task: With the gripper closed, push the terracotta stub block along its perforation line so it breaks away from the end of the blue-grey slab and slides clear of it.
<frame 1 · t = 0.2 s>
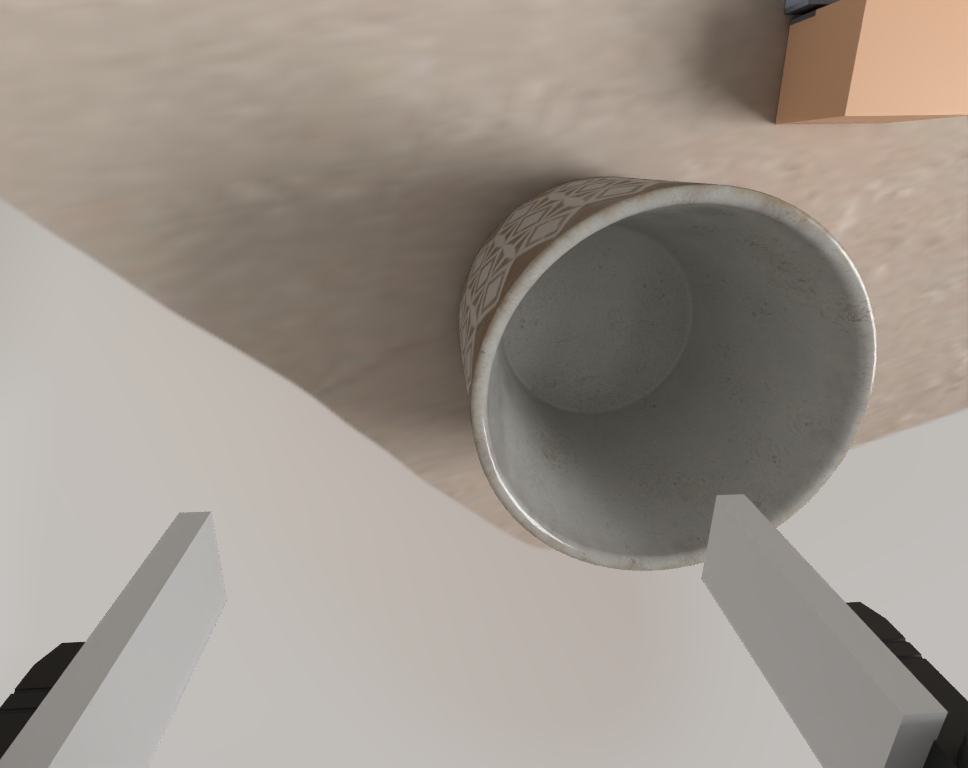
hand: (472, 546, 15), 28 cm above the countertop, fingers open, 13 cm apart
planter: (588, 315, 43), on the countertop
stub: (880, 64, 35), point 3 cm above the countertop, slide at 0.0 cm
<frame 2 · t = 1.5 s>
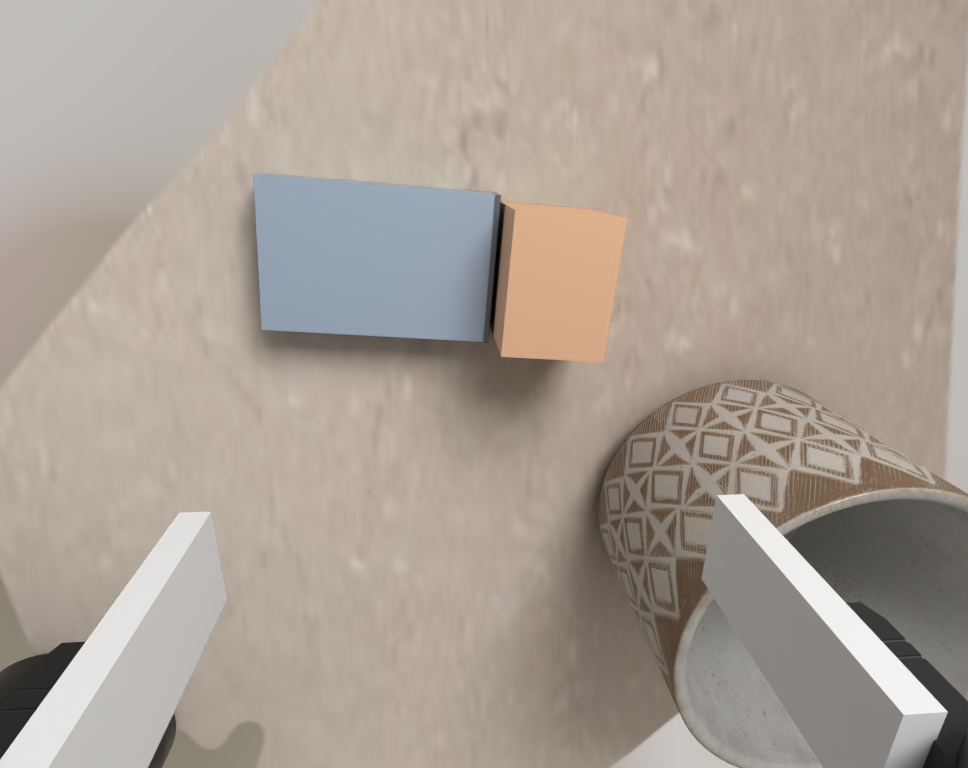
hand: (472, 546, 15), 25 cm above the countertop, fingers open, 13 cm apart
planter: (711, 485, 46), on the countertop
stub: (549, 278, 35), point 4 cm above the countertop, slide at 0.0 cm
blue-grey slab: (381, 257, 37), on the countertop
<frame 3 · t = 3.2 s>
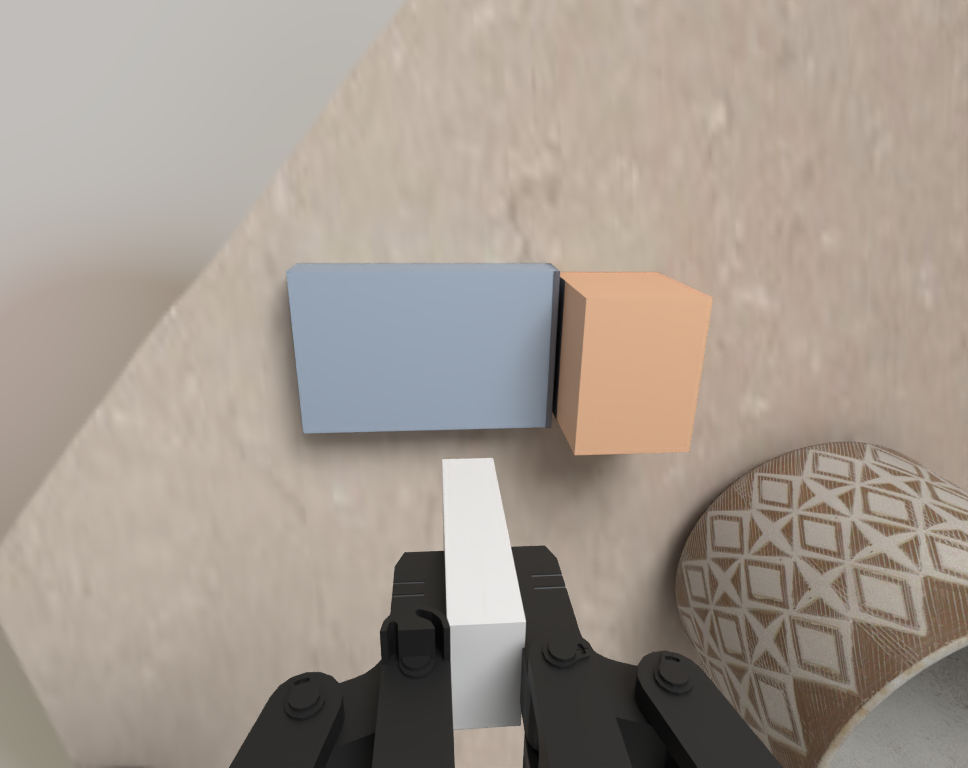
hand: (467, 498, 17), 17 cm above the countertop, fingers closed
planter: (793, 549, 42), on the countertop
stub: (618, 357, 31), point 4 cm above the countertop, slide at 0.0 cm
blue-grey slab: (427, 341, 34), on the countertop
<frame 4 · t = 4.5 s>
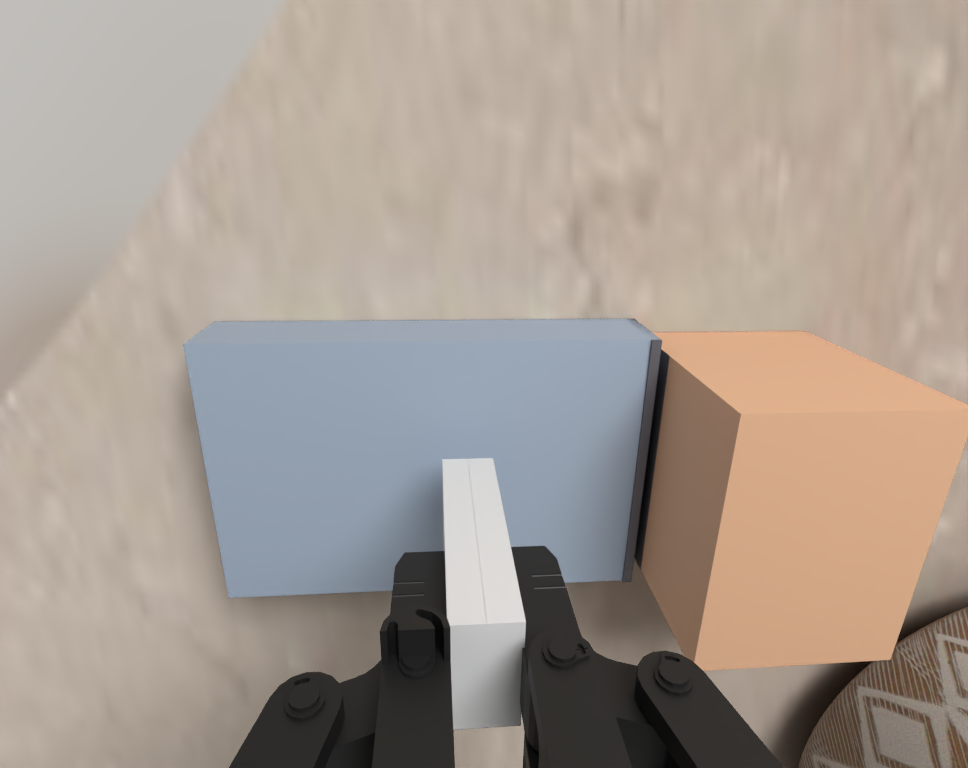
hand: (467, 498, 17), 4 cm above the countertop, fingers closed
planter: (958, 713, 29), on the countertop
stub: (755, 482, 19), point 3 cm above the countertop, slide at 0.0 cm
blue-grey slab: (432, 441, 21), on the countertop
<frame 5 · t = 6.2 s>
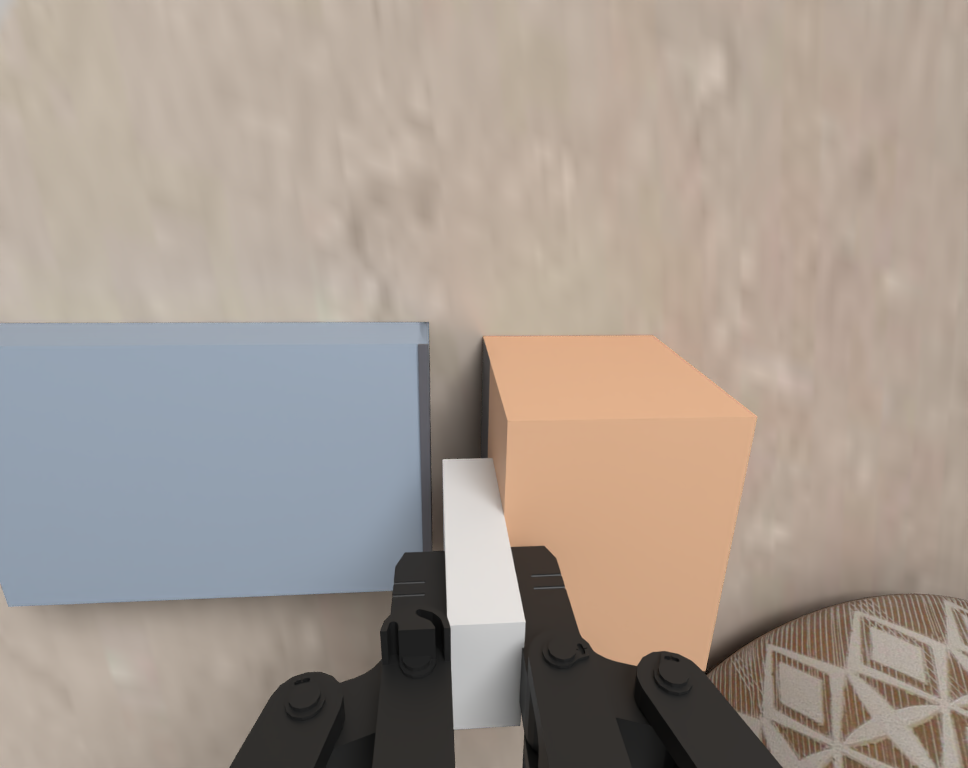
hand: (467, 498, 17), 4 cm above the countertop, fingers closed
planter: (821, 723, 29), on the countertop
stub: (584, 489, 18), point 4 cm above the countertop, slide at 1.6 cm, touching gripper
blue-grey slab: (232, 446, 20), on the countertop
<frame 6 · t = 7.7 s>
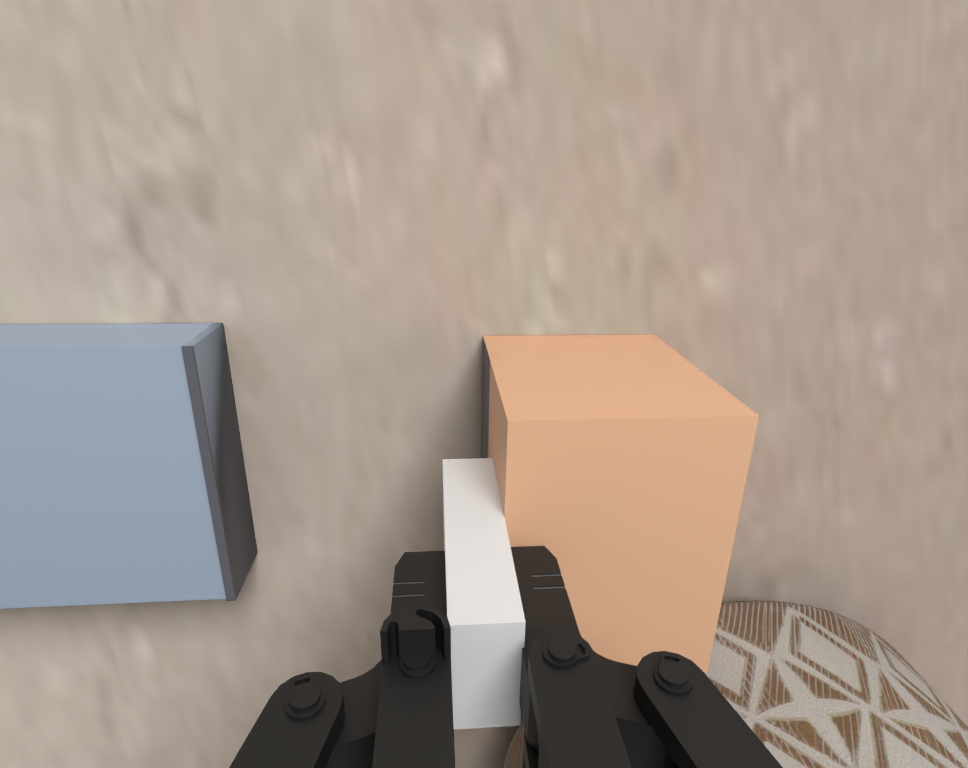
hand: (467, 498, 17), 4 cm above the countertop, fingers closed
planter: (692, 732, 28), on the countertop
stub: (585, 489, 18), point 3 cm above the countertop, slide at 8.2 cm, touching gripper
blue-grey slab: (31, 451, 20), on the countertop
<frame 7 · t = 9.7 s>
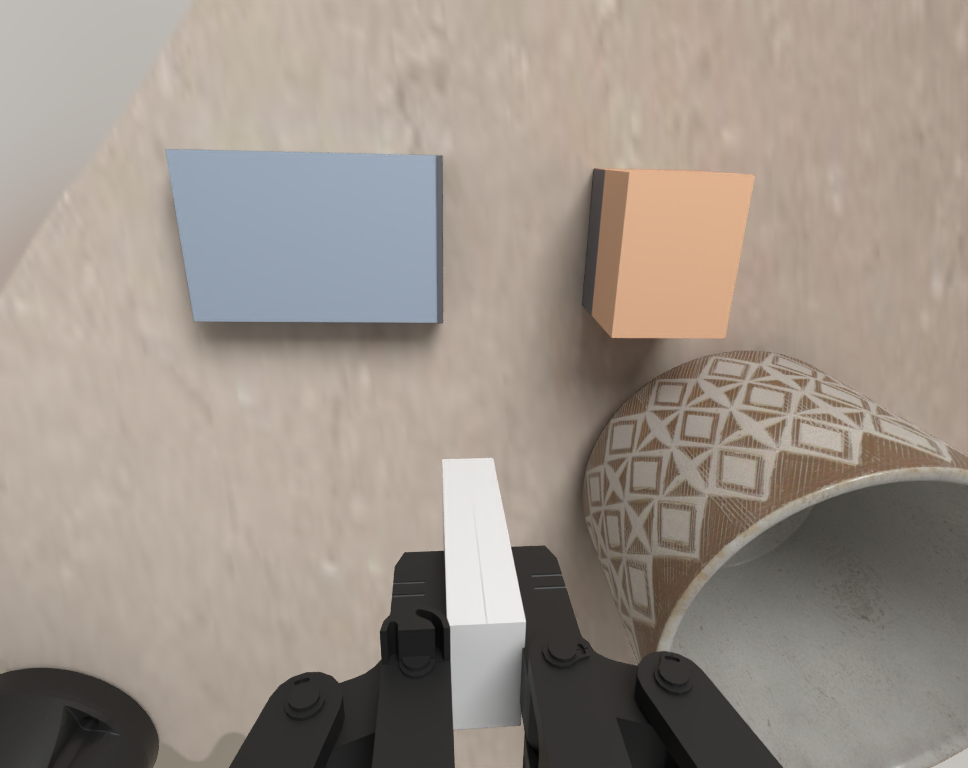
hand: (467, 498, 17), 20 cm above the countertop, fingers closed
planter: (709, 469, 41), on the countertop
stub: (656, 249, 32), point 3 cm above the countertop, slide at 8.4 cm
blue-grey slab: (322, 235, 34), on the countertop
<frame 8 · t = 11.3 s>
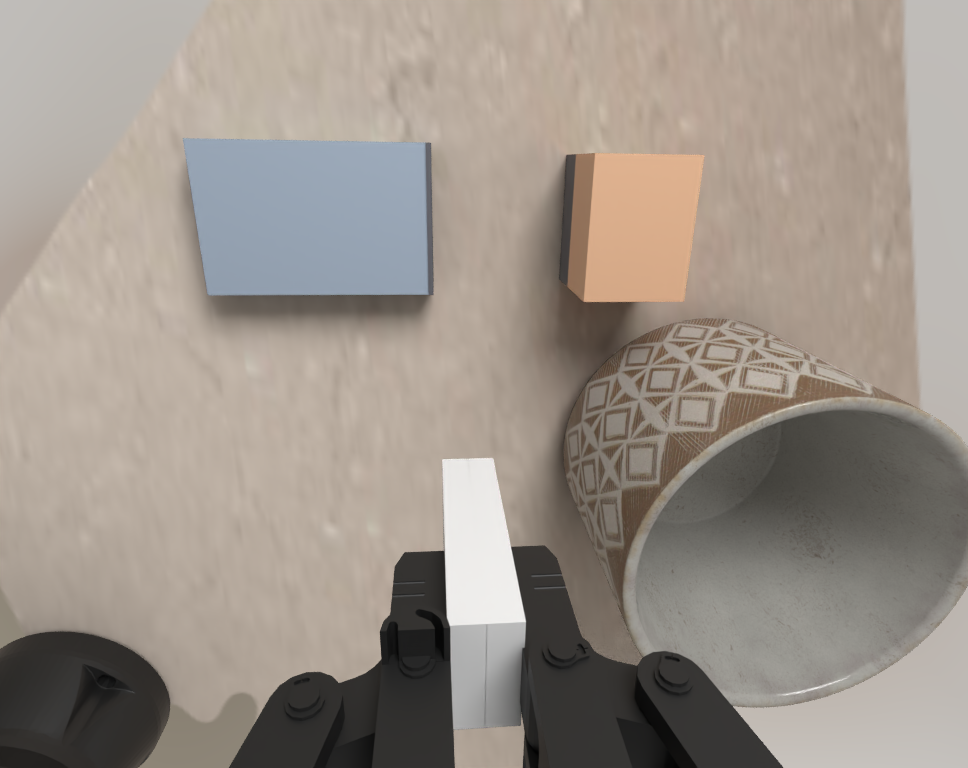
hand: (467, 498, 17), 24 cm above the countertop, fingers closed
planter: (679, 431, 45), on the countertop
stub: (622, 224, 36), point 3 cm above the countertop, slide at 8.4 cm
blue-grey slab: (323, 217, 37), on the countertop
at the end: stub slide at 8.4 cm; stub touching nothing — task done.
